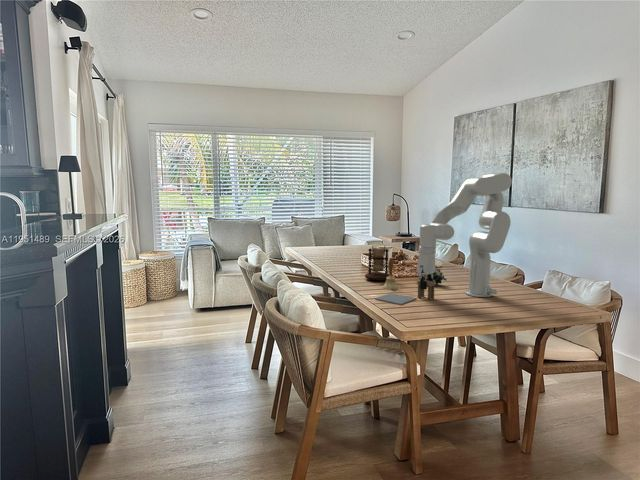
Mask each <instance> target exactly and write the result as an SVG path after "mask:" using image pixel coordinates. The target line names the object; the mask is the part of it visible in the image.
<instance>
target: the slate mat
mask: <svg viewBox="0 0 640 480" xmlns="http://www.w3.org/2000/svg"><path fill="white" fill-rule="evenodd" d="M417 298H418V297H413V296H409V295H403V294H398V293H393V292H390V293H386V294H384V295H382V296H377V297H375V298H374V300H376V301H381V302H385V303H390V304H394V305H398V306H402V305H405V304H408V303H411V302H413V301H415V300H417Z"/></svg>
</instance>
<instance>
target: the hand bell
mask: <svg viewBox="0 0 640 480" xmlns="http://www.w3.org/2000/svg"><path fill="white" fill-rule="evenodd" d="M393 268H394V260H393V258H392V257H389V258H388V269H389V271H388V274H389V277H387V278H386V281H385V283H384V284H383V285H382V289H385V290H391V289H393V290H399V286H398V285H397V283H396V277H394V276H393Z"/></svg>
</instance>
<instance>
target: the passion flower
mask: <svg viewBox="0 0 640 480" xmlns="http://www.w3.org/2000/svg"><path fill="white" fill-rule="evenodd" d="M424 277H425V276H424ZM427 279H428V278H427ZM443 280H444V281H447V278H446V277H445V275H444V272H441V269H438V268H435V272H434V275H433V281H435V282H436V285H438V284H442V281H443Z"/></svg>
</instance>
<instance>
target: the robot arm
mask: <svg viewBox="0 0 640 480" xmlns="http://www.w3.org/2000/svg"><path fill="white" fill-rule="evenodd" d="M512 182H513V180H512V177H511V176H510V175H509V174H508V173H506V172H497V173H496V172H494V173H493V172H492V173H486V174H483V175H482V176H481V177H471V178H470V177H469V178H467V179H466V180H464V181H463V183H462V184H461V186H460V188H459V189H458V190H457V192H456V193H455V194H454V197H453V198H452V199H451V201H450V202H449V203H447V205H445V206H444V207H443V208H442V209H441V210H439V211H438V212H437V213H436V215H435V216H434V218H433V219H432V220H431V222H430V223H429V224H428V223H427V224H426V223H425V224H424V223H423V224H421V225H420V227H419V248H418V258H417V265H416V266H417V267H416V268H417V269H416V273H417V275H418V277H419V280H420V289H424V291H425V290H428V286H427V281H426V280H428V281H433V275H434V272H435V269H436V254H437V253H436V251H437V249H436V248H437V240H442V241H448V240H450V239H452V238H453V237H454V235H455V229H454V227H453V226H451V225H450V224H448V223H449V222H450V221H451V220H453V219H455V218H457V217H459V216H461V215H463V214H464V213H466V212H468V210H469V208H470V207H471V205H472V204H473V202H474V200H475V199H476V197H477V196H478V197H484V196H485V199H484V204H483V206H482V210H481V214H480V216H479V219H478V224H479V227H480V228H482V229H484V230H488V231H483V230H482V231H481V230H478V231H474V232H473V233H471V235H470V236H469V240H468V244H469V252H470V253H469V255H470V256H469V276H468V277H469V279H468V289H466V290H465V291H464V292H465V295H467V296H470V297H476V298H490V297H492V296H493V295H498V289H495V288H492V286H491V285H490V279H491V277H490V276H491V264H492V260H491V259H492V258H491V254H497V253H499V252H501V250H502V249H503V247H504V245H505V242H506V239H507V236H508V234H509V231H510V227H511V217H510V214H508V213H507V212H506V211H503V206H504V204H505V202H504V201H505V199H504V195H503V192H506V191H507V190H509V188H510V187H511V186H512ZM424 276H425V277H424ZM427 278H428V279H427Z"/></svg>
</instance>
